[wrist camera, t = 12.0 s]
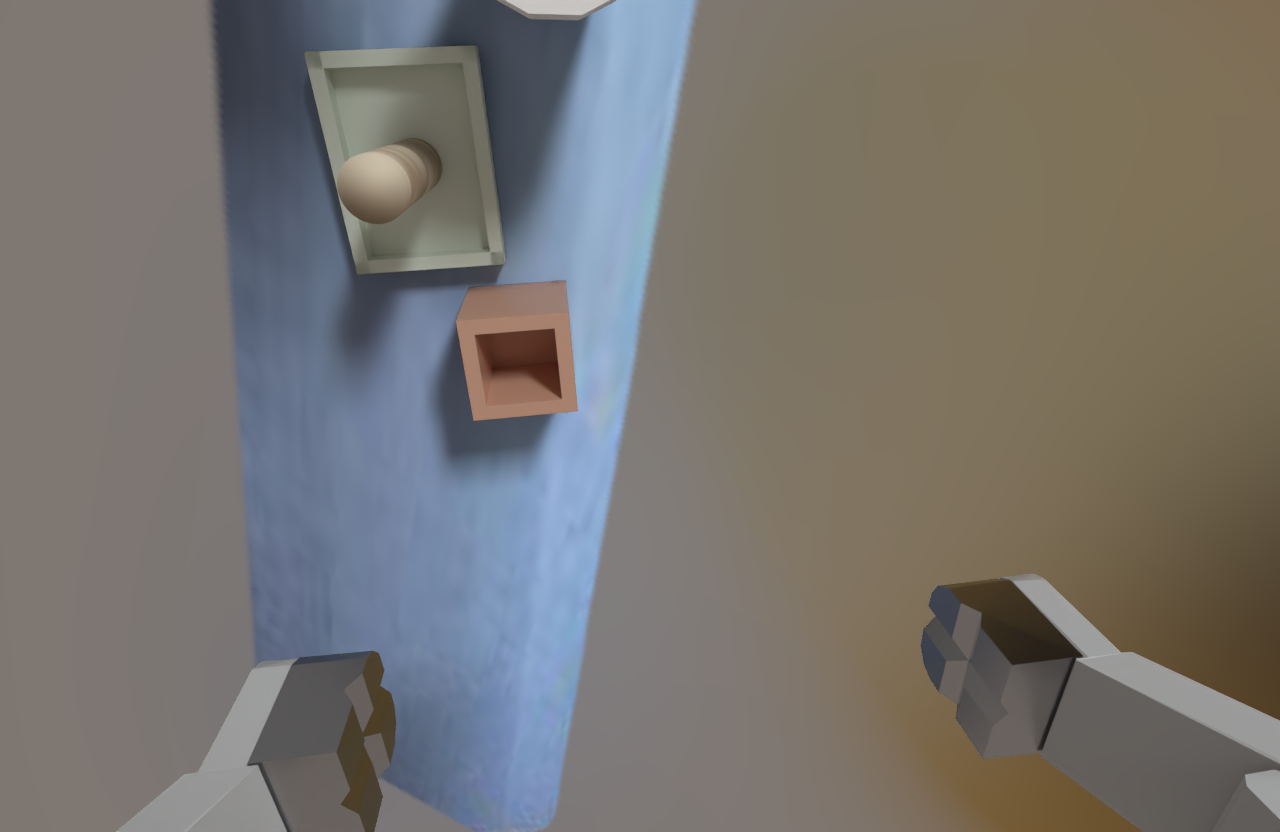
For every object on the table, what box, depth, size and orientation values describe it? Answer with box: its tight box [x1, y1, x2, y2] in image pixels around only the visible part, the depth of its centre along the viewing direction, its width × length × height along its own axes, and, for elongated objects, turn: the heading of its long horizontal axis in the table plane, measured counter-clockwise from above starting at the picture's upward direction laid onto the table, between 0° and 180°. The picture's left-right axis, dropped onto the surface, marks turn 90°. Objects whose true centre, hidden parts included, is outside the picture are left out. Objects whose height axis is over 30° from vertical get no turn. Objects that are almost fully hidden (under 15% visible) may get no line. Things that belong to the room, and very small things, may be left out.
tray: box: [304, 45, 506, 275], centre depth 39 cm, size 12×9×2 cm
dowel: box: [337, 138, 442, 224], centre depth 34 cm, size 3×3×11 cm
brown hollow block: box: [456, 280, 578, 421], centre depth 42 cm, size 6×6×7 cm
